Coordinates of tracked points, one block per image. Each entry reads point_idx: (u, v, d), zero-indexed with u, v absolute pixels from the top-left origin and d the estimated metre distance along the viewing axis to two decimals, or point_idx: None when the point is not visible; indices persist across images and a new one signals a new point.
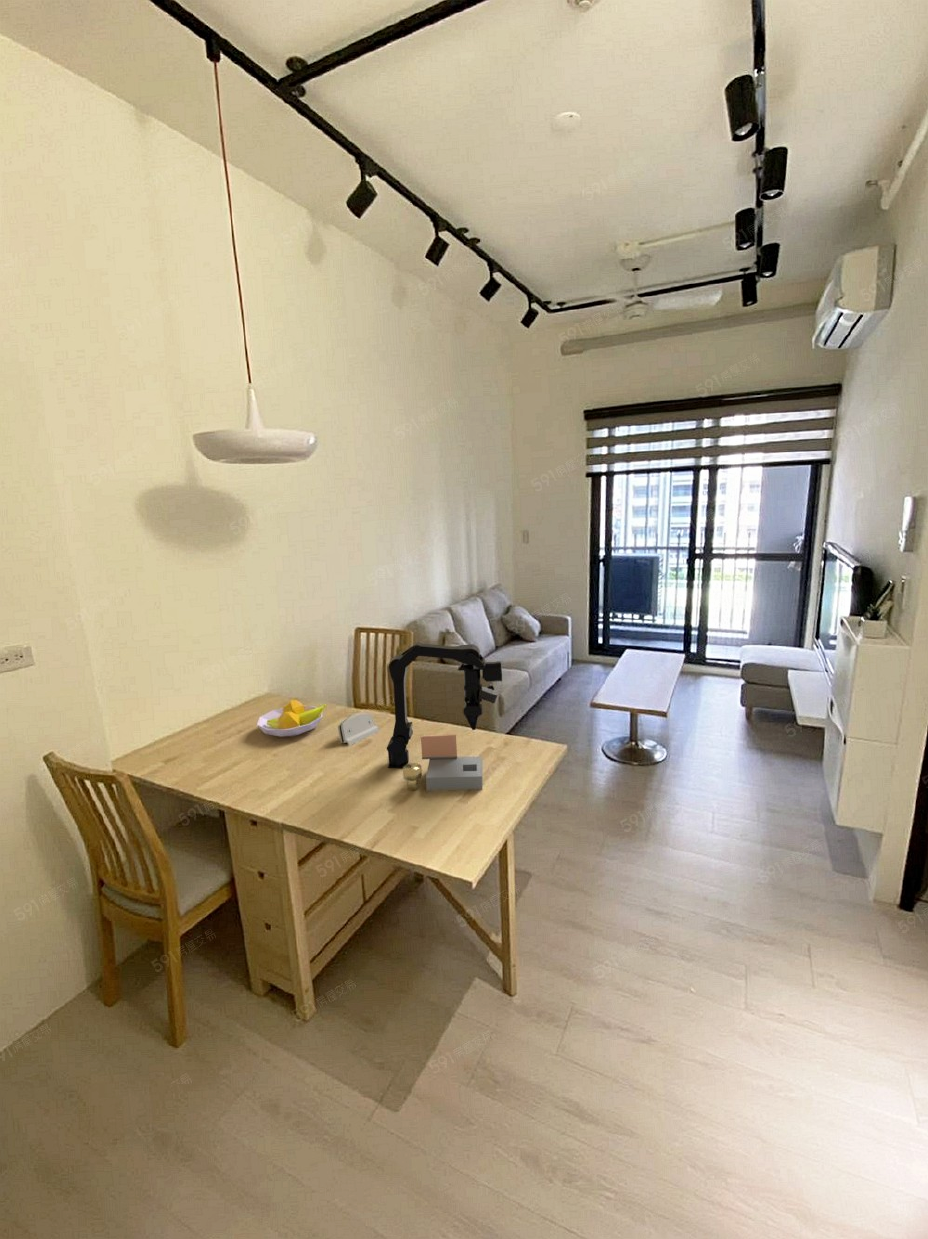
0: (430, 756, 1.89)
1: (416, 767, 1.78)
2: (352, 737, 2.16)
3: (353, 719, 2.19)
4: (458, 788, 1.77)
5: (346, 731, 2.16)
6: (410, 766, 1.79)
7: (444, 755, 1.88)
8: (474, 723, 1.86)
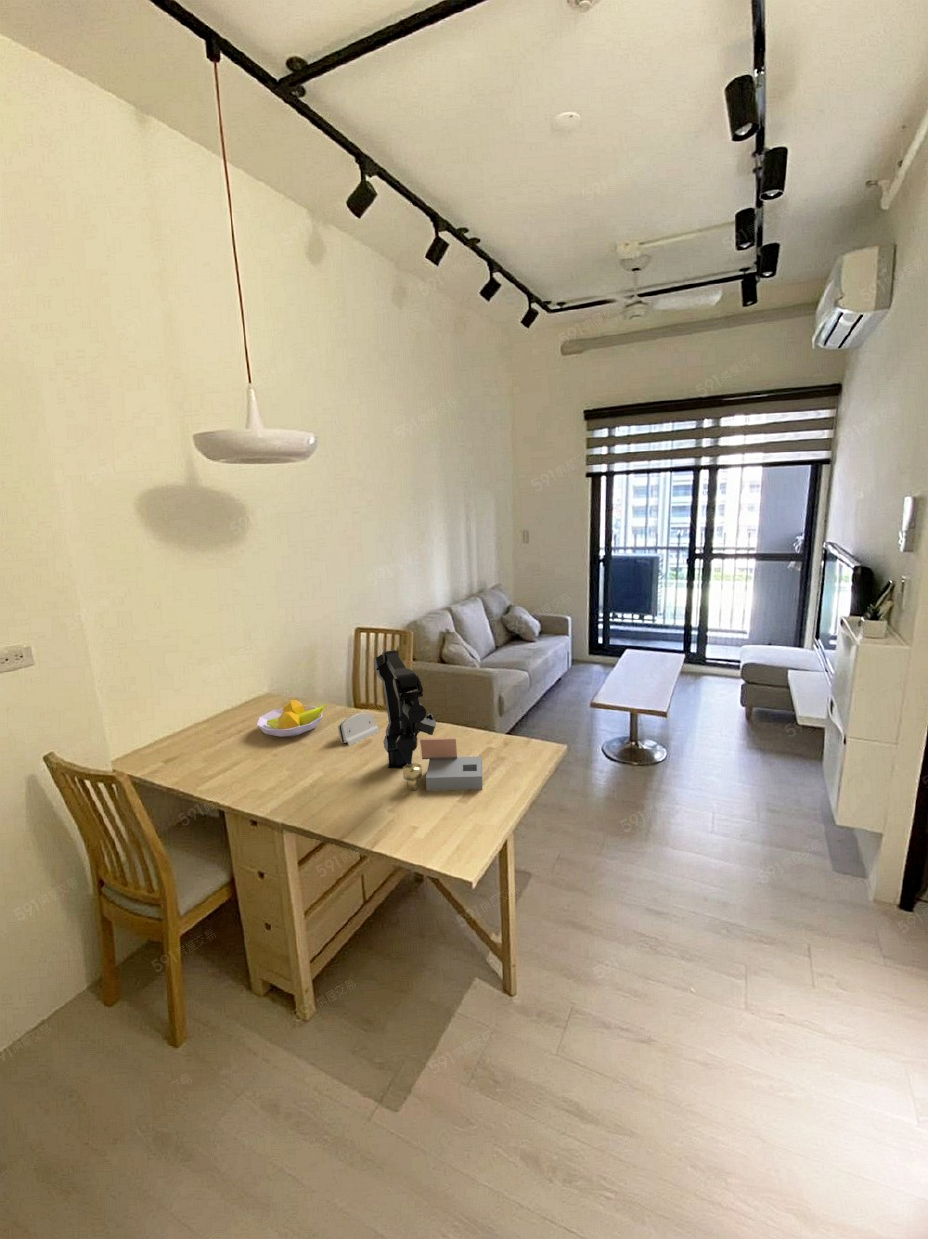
0: (430, 757, 1.89)
1: (416, 767, 1.78)
2: (352, 737, 2.16)
3: (354, 719, 2.19)
4: (458, 788, 1.77)
5: (347, 731, 2.16)
6: (410, 766, 1.79)
7: (444, 755, 1.88)
8: (409, 757, 1.72)
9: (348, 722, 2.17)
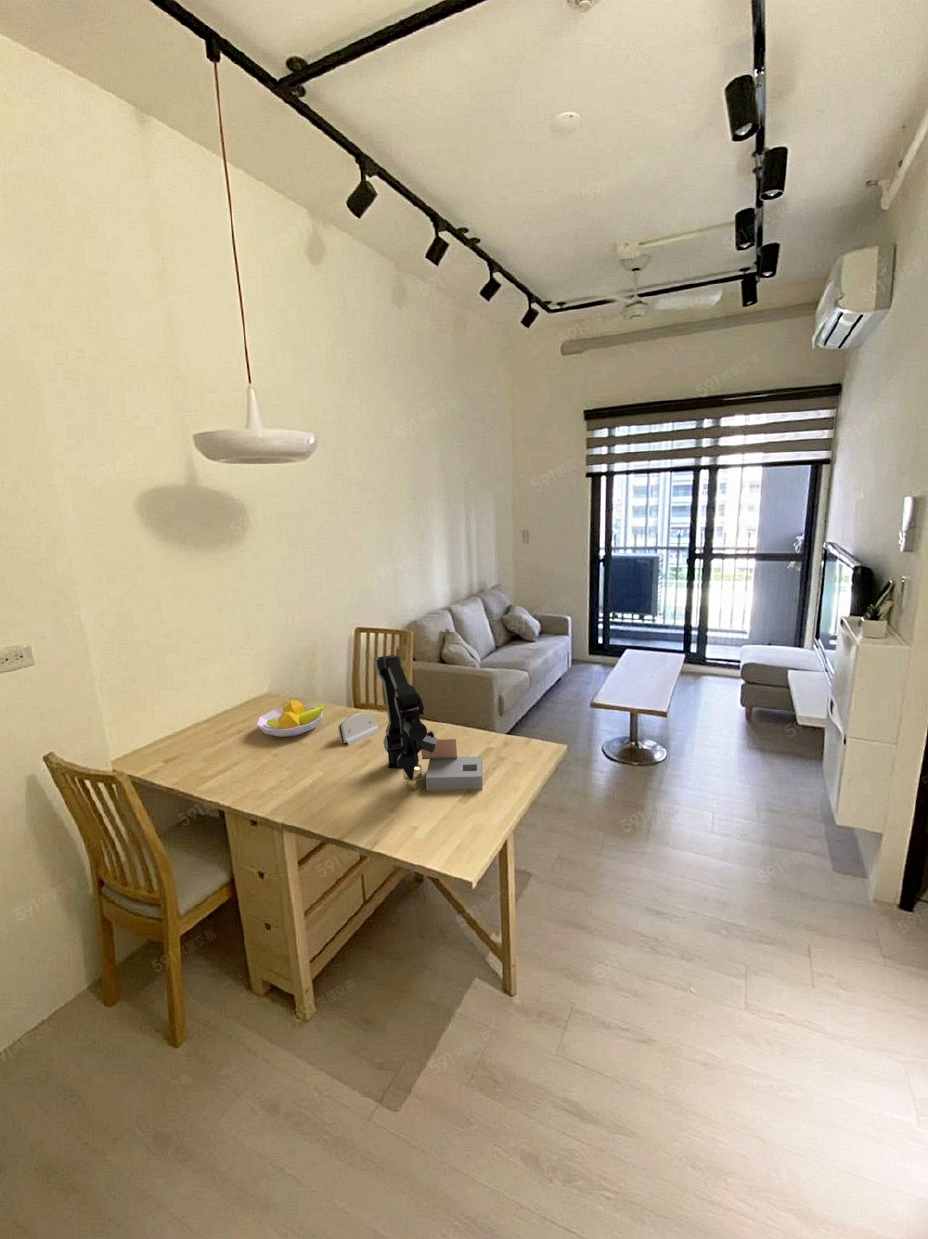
0: (430, 757, 1.89)
1: (416, 767, 1.78)
2: (352, 737, 2.16)
3: (354, 719, 2.19)
4: (458, 788, 1.77)
5: (347, 730, 2.16)
6: None
7: (444, 755, 1.88)
8: (411, 772, 1.74)
9: (348, 722, 2.17)
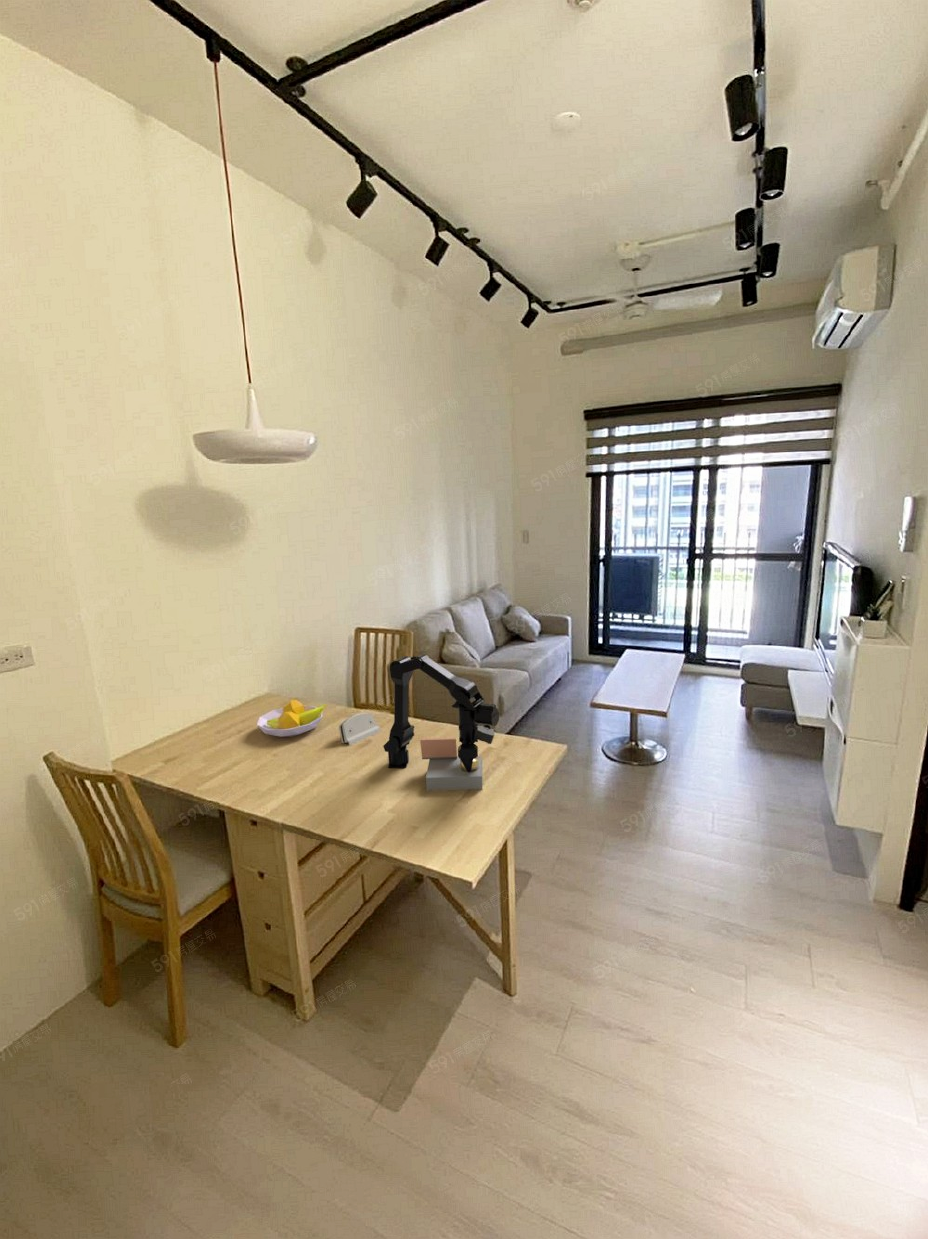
0: (430, 757, 1.89)
1: (473, 759, 1.81)
2: (353, 737, 2.16)
3: (355, 719, 2.19)
4: (458, 788, 1.77)
5: (347, 730, 2.16)
6: None
7: (444, 755, 1.88)
8: (469, 765, 1.76)
9: (349, 722, 2.17)
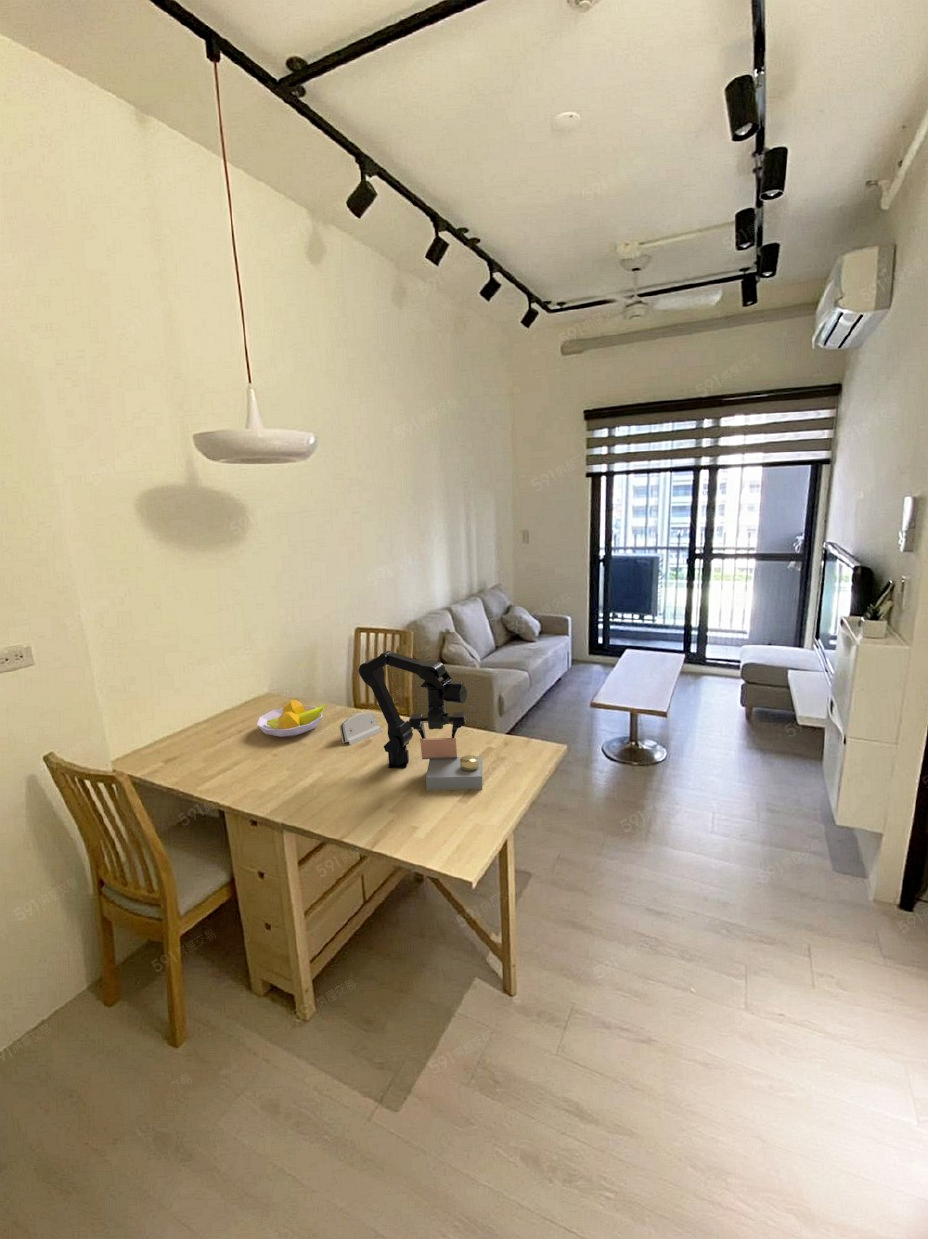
0: (430, 757, 1.89)
1: (473, 759, 1.81)
2: (353, 737, 2.16)
3: (355, 719, 2.19)
4: (458, 788, 1.77)
5: (348, 730, 2.16)
6: (467, 758, 1.82)
7: (444, 755, 1.88)
8: None
9: (350, 722, 2.17)
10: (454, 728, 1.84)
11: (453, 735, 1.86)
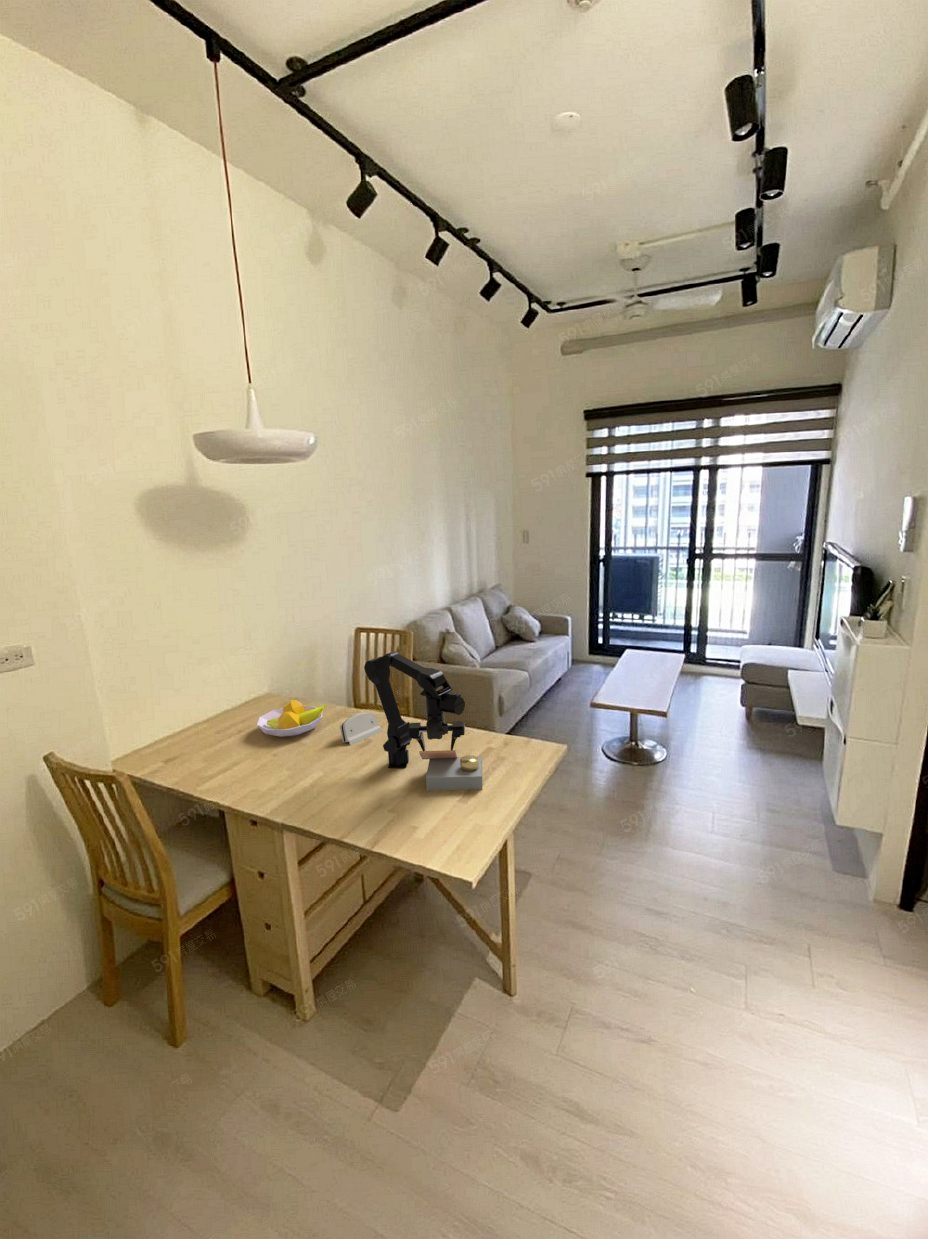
0: (430, 758, 1.89)
1: (473, 759, 1.81)
2: (354, 737, 2.16)
3: (356, 719, 2.19)
4: (458, 788, 1.77)
5: (348, 730, 2.16)
6: (467, 758, 1.82)
7: (444, 757, 1.88)
8: None
9: (350, 721, 2.17)
10: (453, 737, 1.81)
11: (452, 744, 1.83)
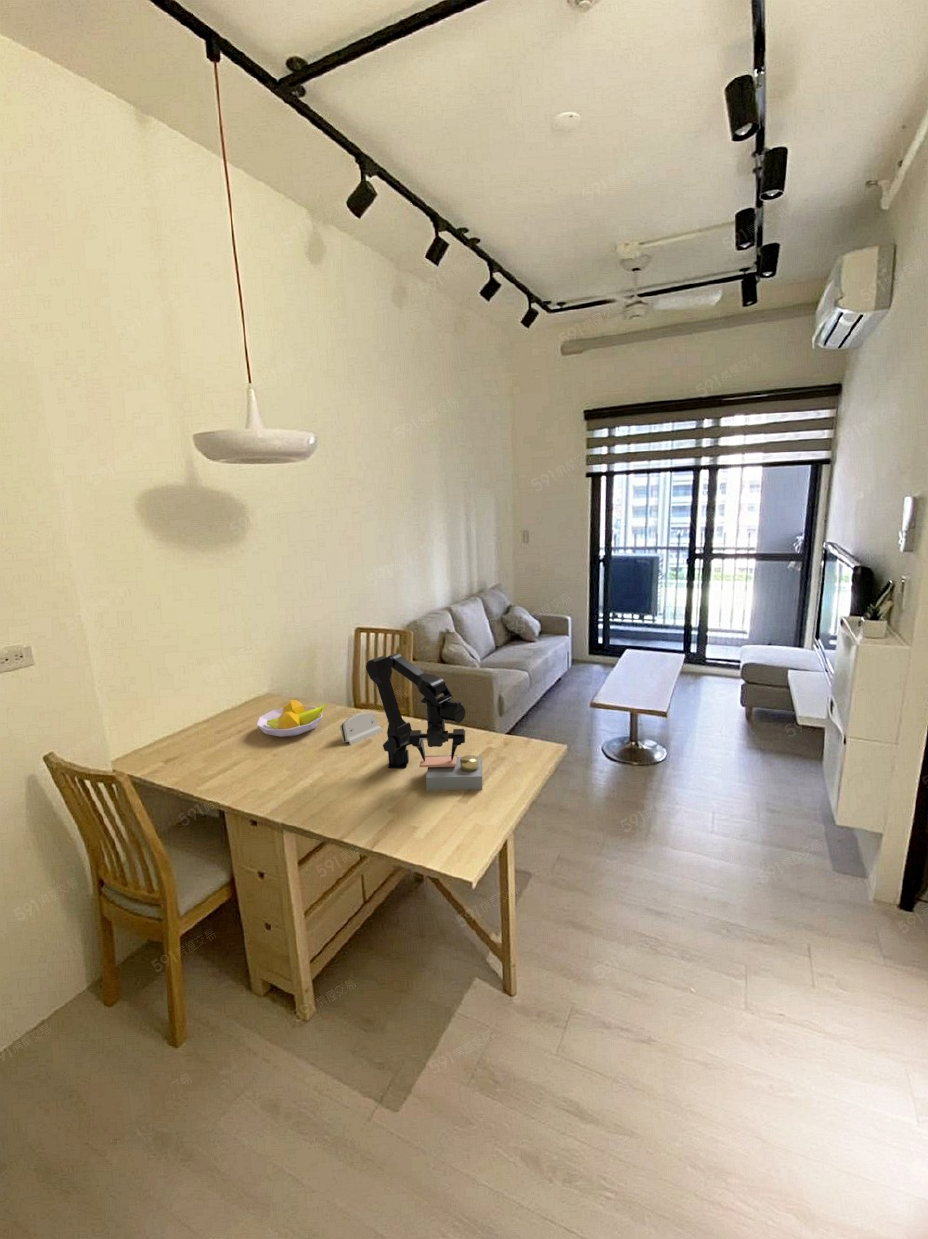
0: None
1: (473, 759, 1.81)
2: (354, 737, 2.17)
3: (356, 719, 2.20)
4: (458, 788, 1.77)
5: (348, 730, 2.16)
6: (467, 758, 1.82)
7: None
8: None
9: (350, 721, 2.17)
10: (454, 745, 1.80)
11: (453, 752, 1.82)
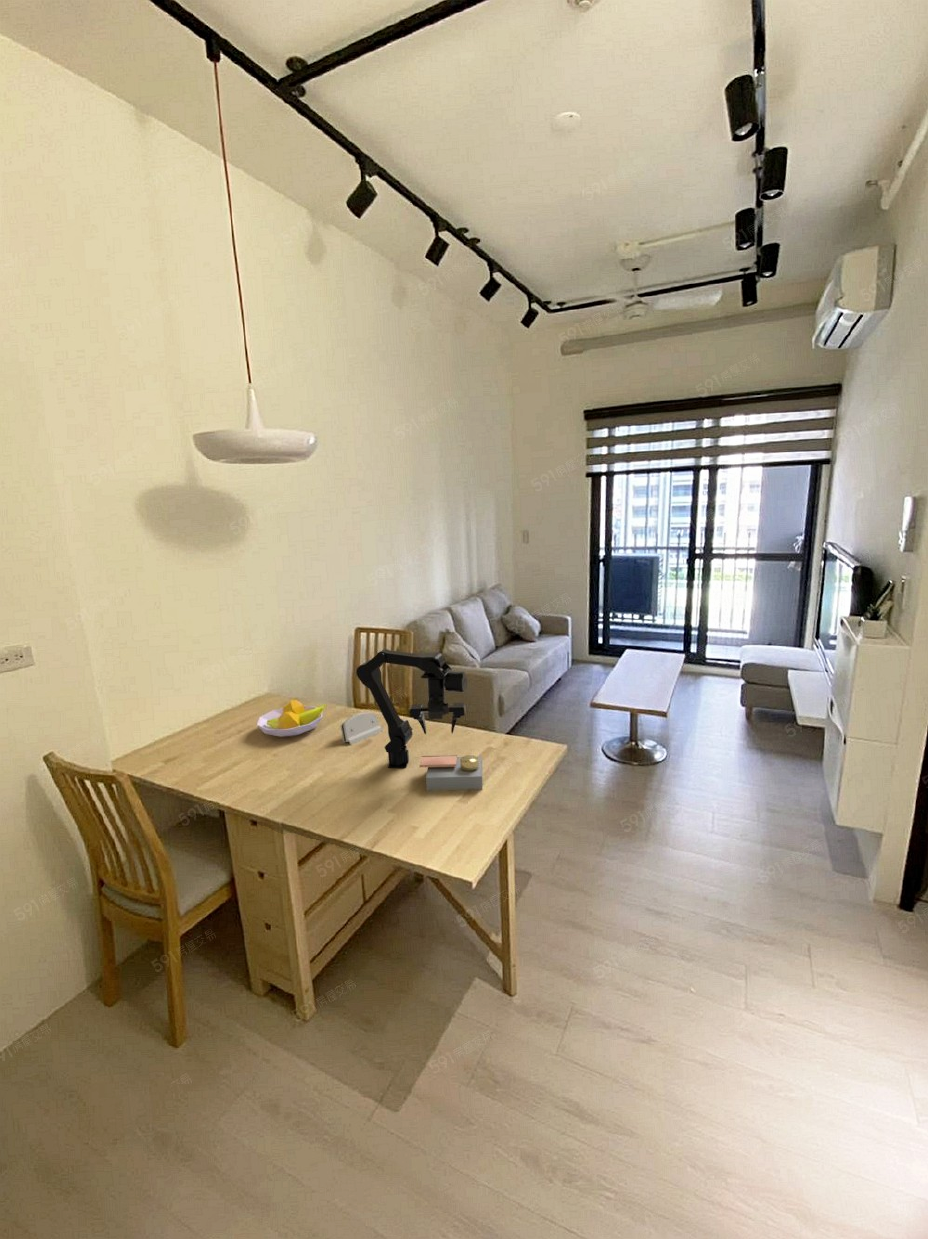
0: None
1: (473, 759, 1.81)
2: (354, 736, 2.17)
3: (356, 719, 2.20)
4: (458, 788, 1.77)
5: (349, 730, 2.16)
6: (467, 758, 1.82)
7: None
8: None
9: (350, 721, 2.18)
10: (454, 718, 1.86)
11: (453, 725, 1.87)
